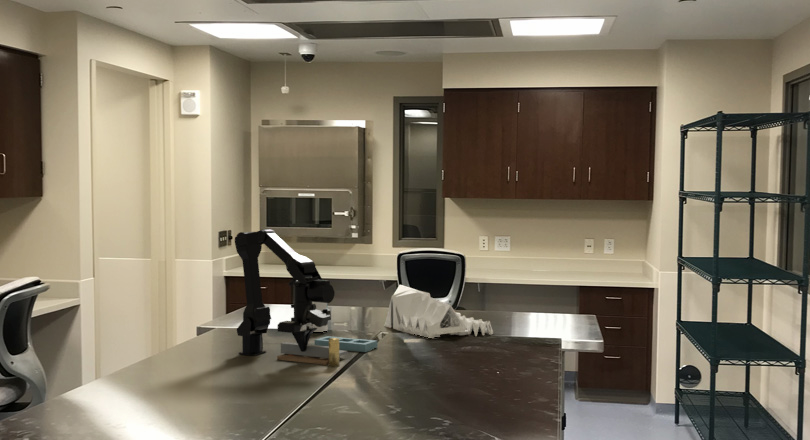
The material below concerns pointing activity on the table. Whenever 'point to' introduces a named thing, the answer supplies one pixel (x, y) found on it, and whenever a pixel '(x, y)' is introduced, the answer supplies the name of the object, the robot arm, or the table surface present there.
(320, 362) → the plate
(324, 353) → the sliding cover
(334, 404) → the table surface
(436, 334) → the white faceted model
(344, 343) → the socket board
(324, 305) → the milk bottle
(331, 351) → the brass pin
